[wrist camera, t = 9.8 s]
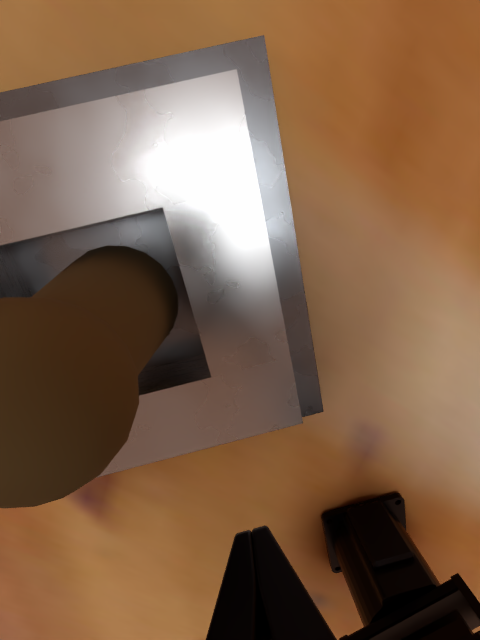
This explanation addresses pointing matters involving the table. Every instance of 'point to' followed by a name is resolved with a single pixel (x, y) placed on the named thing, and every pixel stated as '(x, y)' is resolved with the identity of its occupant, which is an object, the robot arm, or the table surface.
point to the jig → (172, 232)
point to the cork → (76, 370)
